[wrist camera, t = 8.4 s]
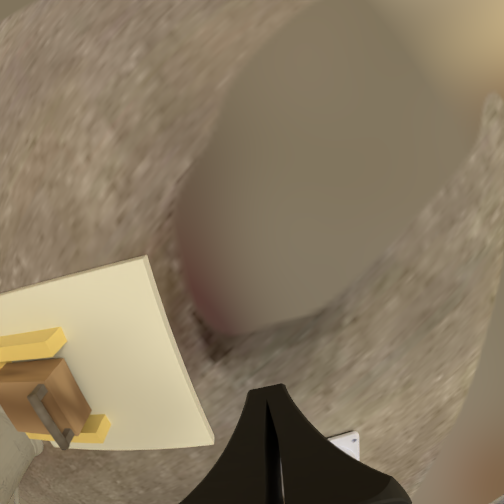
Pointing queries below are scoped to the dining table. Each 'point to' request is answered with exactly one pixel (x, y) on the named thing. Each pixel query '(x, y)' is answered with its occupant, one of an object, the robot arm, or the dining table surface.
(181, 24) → the dining table surface
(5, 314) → the dock
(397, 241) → the dining table surface
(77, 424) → the wooden block with handle
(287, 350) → the dining table surface
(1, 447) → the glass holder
